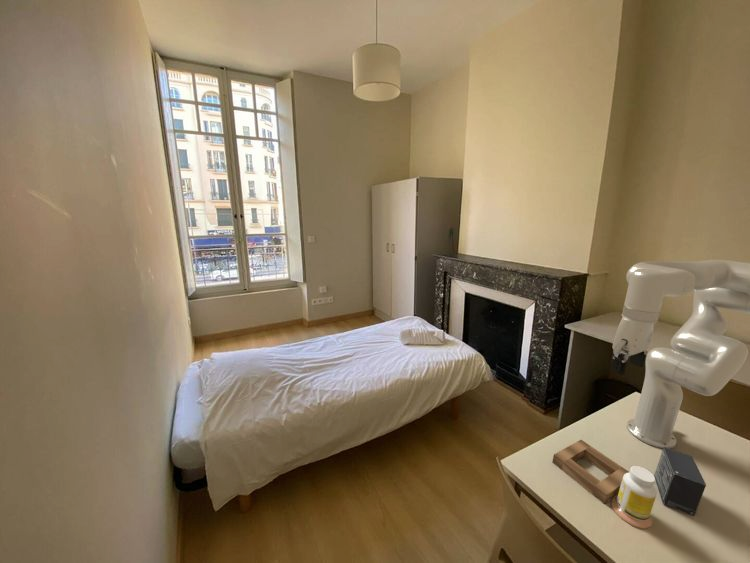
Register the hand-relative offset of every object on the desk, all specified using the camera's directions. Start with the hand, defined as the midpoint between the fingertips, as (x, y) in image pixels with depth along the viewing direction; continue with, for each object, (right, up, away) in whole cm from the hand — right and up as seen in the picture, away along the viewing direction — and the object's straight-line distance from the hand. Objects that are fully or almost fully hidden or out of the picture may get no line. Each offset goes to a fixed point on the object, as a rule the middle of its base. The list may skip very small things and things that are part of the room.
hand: (626, 368), depth 87 cm
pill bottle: (-7, -34, -10) cm, 36 cm away
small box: (+8, -33, -6) cm, 35 cm away
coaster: (-8, -34, -10) cm, 36 cm away
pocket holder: (-10, -31, +1) cm, 33 cm away
